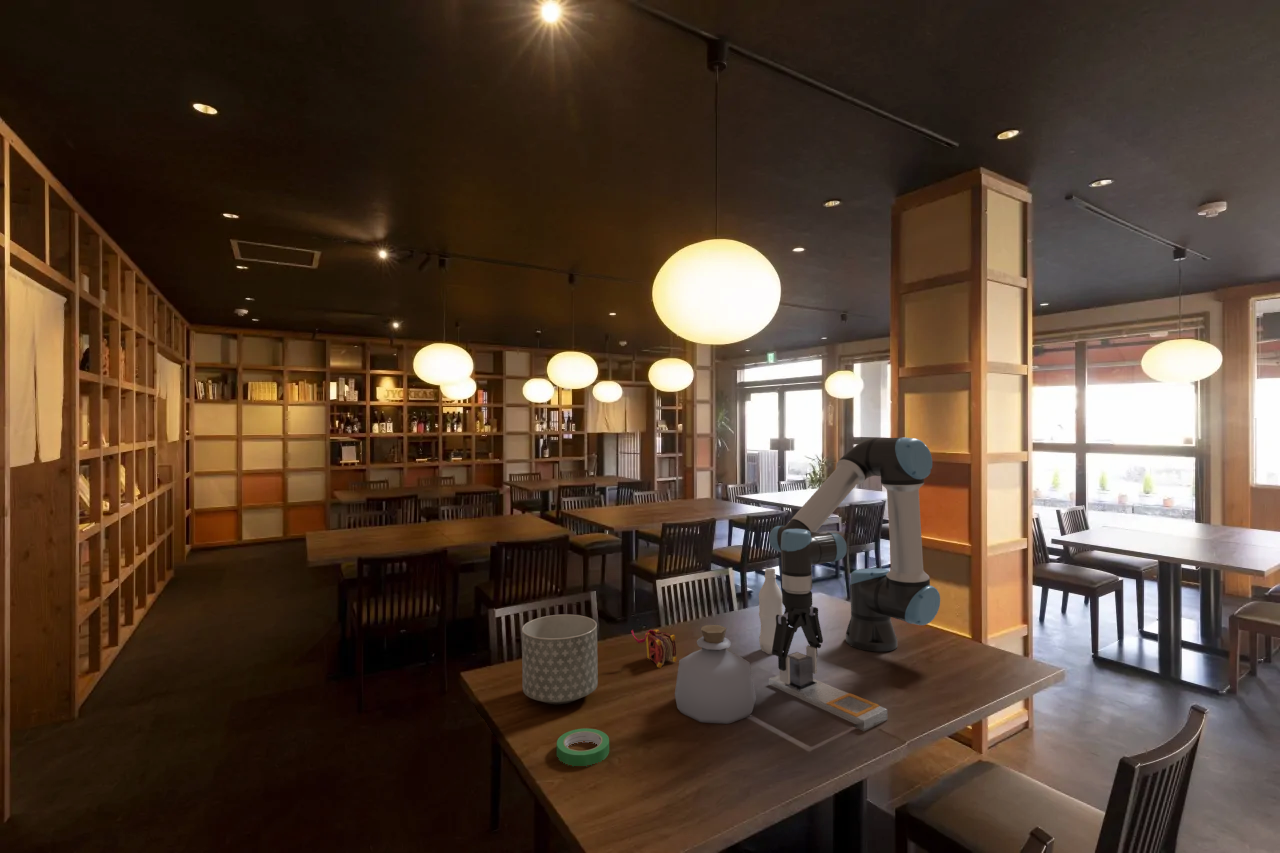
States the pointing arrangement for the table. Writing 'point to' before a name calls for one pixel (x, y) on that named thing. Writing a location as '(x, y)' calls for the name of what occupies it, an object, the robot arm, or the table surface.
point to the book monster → (659, 646)
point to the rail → (837, 702)
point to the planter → (559, 658)
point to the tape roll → (585, 756)
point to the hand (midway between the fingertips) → (798, 676)
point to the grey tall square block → (800, 670)
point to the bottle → (714, 681)
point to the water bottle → (769, 610)
